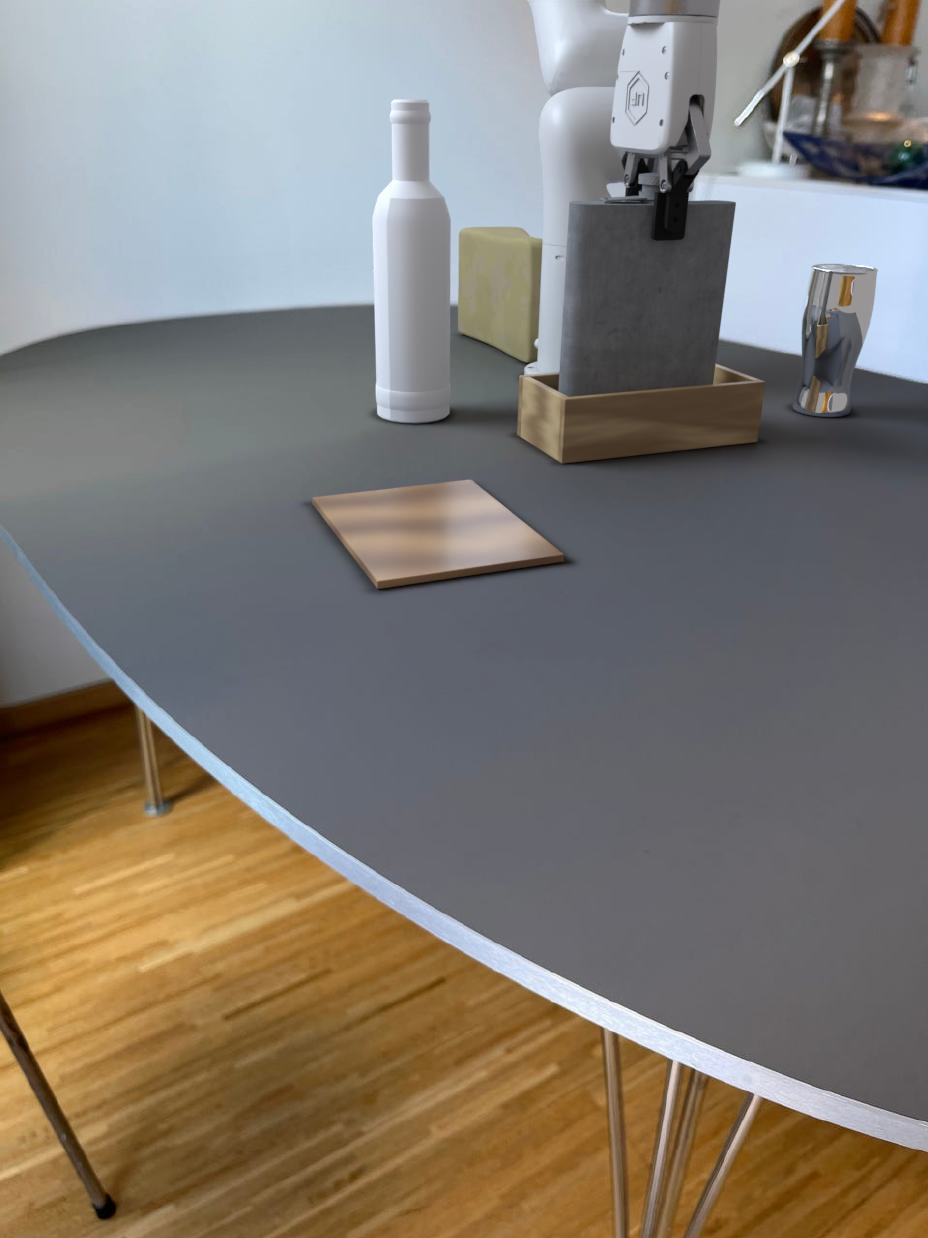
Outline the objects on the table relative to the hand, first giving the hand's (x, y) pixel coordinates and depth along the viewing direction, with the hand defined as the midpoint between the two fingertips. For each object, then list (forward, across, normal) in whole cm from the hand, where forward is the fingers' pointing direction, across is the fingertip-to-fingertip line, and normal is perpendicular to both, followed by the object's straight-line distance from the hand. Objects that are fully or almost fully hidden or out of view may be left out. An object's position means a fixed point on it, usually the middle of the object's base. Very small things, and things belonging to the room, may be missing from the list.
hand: (652, 233), depth 95 cm
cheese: (+20, -44, +6) cm, 49 cm away
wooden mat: (+19, +18, -28) cm, 38 cm away
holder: (+19, +1, 0) cm, 19 cm away
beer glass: (+20, -2, +25) cm, 32 cm away
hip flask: (+15, 0, 0) cm, 15 cm away
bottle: (+20, -15, -18) cm, 31 cm away
